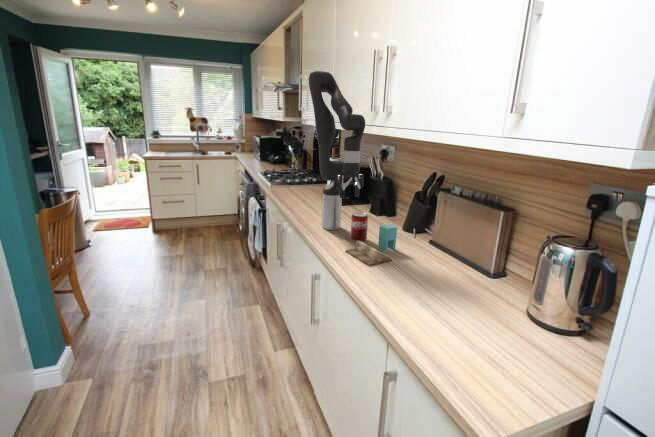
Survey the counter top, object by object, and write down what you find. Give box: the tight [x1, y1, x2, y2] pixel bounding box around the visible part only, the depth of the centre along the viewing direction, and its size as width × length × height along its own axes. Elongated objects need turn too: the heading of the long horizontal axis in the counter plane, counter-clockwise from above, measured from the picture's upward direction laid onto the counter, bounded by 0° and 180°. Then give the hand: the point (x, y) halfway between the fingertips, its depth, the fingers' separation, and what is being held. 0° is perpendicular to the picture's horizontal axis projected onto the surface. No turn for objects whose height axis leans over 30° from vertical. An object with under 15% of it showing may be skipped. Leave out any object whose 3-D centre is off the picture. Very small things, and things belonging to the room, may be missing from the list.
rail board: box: [345, 241, 392, 267], centre depth 138 cm, size 16×11×4 cm
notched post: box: [377, 224, 398, 252], centre depth 145 cm, size 4×6×10 cm
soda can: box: [350, 211, 369, 243], centre depth 156 cm, size 7×7×12 cm
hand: (349, 197), depth 156 cm, fingers open, 8 cm apart
